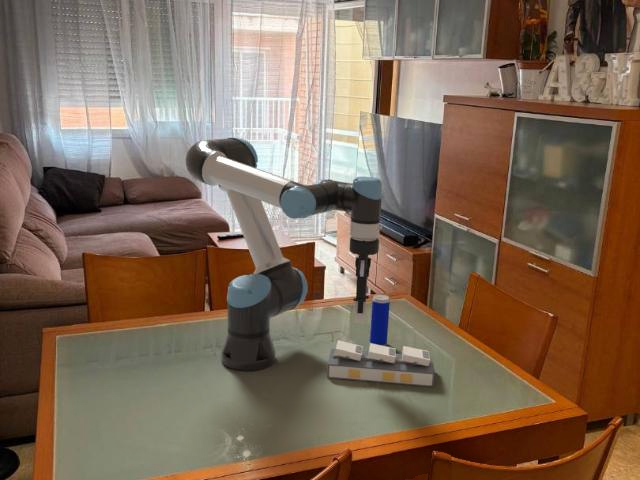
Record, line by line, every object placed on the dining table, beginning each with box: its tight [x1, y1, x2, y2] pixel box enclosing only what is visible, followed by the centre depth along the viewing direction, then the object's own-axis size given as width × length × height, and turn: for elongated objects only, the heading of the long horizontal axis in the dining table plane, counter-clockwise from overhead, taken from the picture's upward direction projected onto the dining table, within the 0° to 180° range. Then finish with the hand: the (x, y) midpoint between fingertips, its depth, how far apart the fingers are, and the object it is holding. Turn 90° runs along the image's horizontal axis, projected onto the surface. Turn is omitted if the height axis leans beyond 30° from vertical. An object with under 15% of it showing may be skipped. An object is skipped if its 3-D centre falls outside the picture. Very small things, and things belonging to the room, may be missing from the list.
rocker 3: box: [401, 345, 431, 366], centre depth 165 cm, size 7×6×2 cm
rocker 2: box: [368, 342, 397, 363], centre depth 166 cm, size 7×6×2 cm
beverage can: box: [369, 294, 391, 346], centre depth 185 cm, size 5×5×15 cm
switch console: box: [326, 348, 436, 388], centre depth 167 cm, size 28×10×5 cm, turn 83°
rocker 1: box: [335, 339, 364, 361], centre depth 167 cm, size 7×6×2 cm
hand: (359, 322), depth 165 cm, fingers closed
